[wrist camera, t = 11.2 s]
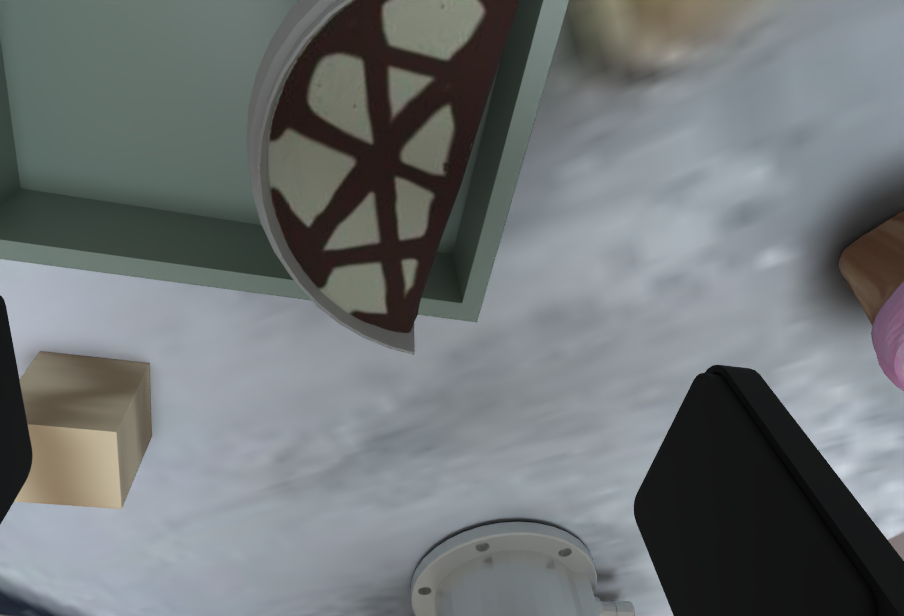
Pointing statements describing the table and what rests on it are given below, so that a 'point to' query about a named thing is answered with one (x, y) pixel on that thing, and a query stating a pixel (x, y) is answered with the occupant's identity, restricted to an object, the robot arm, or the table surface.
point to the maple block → (85, 428)
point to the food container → (369, 146)
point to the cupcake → (881, 290)
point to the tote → (205, 144)
